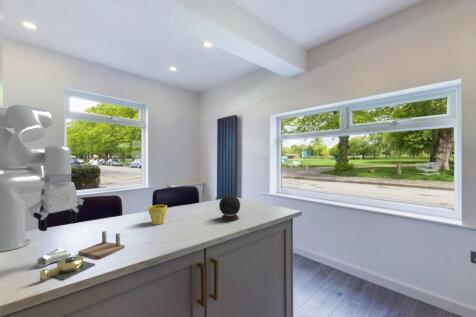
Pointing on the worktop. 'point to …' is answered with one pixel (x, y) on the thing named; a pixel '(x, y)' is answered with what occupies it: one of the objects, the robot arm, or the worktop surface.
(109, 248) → the peg rack
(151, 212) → the plant pot
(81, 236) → the worktop surface
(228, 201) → the black round ball
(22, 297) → the worktop surface
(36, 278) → the worktop surface
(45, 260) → the pipe fitting
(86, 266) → the base
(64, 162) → the robot arm
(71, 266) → the gold elongated piece
